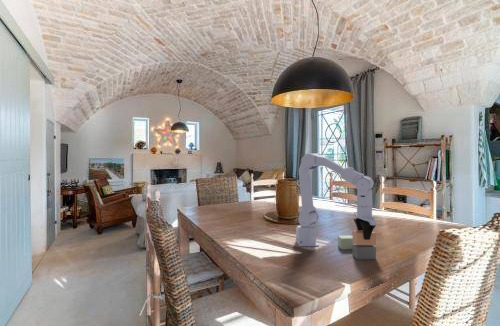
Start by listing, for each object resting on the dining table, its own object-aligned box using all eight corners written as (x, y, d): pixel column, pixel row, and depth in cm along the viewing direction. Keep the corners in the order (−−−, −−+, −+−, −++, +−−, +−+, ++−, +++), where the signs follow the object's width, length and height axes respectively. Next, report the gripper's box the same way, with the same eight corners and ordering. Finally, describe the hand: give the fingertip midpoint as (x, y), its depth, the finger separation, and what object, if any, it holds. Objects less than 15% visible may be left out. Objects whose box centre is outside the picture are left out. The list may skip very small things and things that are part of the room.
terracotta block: (356, 245, 101) (356, 233, 101) (352, 241, 105) (352, 230, 105) (375, 245, 102) (376, 233, 102) (370, 241, 106) (370, 230, 106)
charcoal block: (356, 259, 102) (357, 247, 101) (352, 255, 106) (352, 243, 105) (375, 258, 102) (376, 247, 102) (370, 255, 106) (370, 243, 106)
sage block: (341, 249, 113) (341, 238, 112) (337, 246, 117) (338, 235, 116) (358, 249, 113) (358, 238, 113) (354, 245, 117) (354, 235, 117)
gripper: (383, 209, 96) (383, 243, 96) (365, 202, 110) (364, 232, 111) (366, 209, 96) (365, 243, 96) (349, 202, 110) (349, 232, 111)
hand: (364, 237), depth 103 cm, fingers closed on terracotta block, 4 cm apart
